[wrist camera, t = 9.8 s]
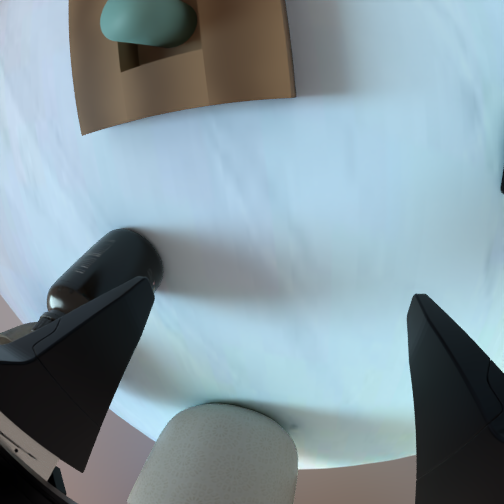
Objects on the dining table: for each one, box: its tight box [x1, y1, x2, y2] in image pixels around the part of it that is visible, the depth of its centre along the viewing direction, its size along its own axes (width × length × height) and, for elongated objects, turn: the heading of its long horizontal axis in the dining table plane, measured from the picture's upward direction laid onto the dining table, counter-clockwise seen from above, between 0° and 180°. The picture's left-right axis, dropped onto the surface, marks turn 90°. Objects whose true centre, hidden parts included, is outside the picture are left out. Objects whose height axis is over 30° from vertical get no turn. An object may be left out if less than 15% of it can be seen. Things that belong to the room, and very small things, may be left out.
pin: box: [100, 0, 197, 48], centre depth 11 cm, size 3×3×5 cm
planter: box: [127, 404, 298, 504], centre depth 30 cm, size 21×21×19 cm
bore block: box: [69, 0, 296, 136], centre depth 13 cm, size 14×12×3 cm
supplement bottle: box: [30, 229, 163, 332], centre depth 20 cm, size 7×7×12 cm
